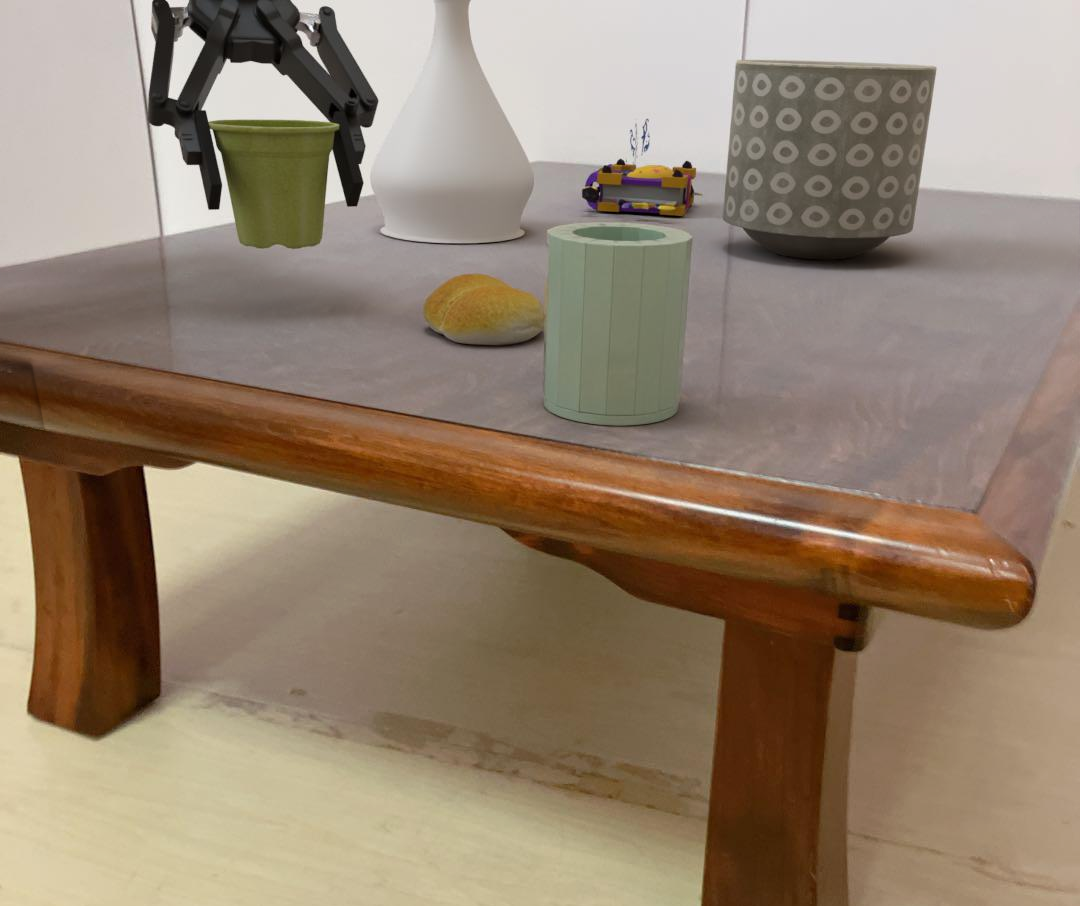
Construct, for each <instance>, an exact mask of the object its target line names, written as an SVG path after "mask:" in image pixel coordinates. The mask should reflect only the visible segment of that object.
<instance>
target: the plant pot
mask: <svg viewBox="0 0 1080 906" xmlns="http://www.w3.org/2000/svg"><path fill="white" fill-rule="evenodd" d="M208 123H209V127H210V130H212V133H213V137H214V141H215V146H216V148H217V150H218V152H220V155H221V159H222V165H223V169H224V173H225V180H226V183H227V189H228V193H229V198H230V202H231V209H232V213H233V218H234V219H233V220H234V223H235V229H236V233H237V238H238V242H239V244H241V245H242V246H245V247H251V248H256V249H269V248H271V247H272V246H275V245H279V246H283V247H285V248H287V249H292V250H298V249H302V248H307V247H308V248H309V247H316V246H318V245H320V244H321V242H322V239H323V232H324V220H325V209H326V208H325V207H326V198H327V197H326V196H327V185H328V172H329V164H330V155H331V152H333V150H332V149H333V141H334V133H335V131H336V130H339V124H336V123H330V122H329V121H319V120H302V119H301V120H300V119H217V120H210V121H208Z"/></svg>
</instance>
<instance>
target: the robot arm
mask: <svg viewBox="0 0 1080 906" xmlns="http://www.w3.org/2000/svg"><path fill="white" fill-rule="evenodd" d="M150 20H151V22H150V23H151V24H150V25H151V26H150V29H151V30H150V31H151V32H152V35H153V38H154V42H155V44H154V51H153V58H152V66H151V74H150V79H149V88H148V99H147V100H148V102H147V121H148V123H149V124H150V125H151V126H154V127H162V126H164V125H168V126H170V127H172V128H173V129H174V137H175V138H176V139H177V140H178V142H179V147H180V152H181V157H182V160H183V162H184V163H185V164H186V166H198V168H199V171H200V176H201V180H202V187H203V190H204V195H205V200H206V206H207V208H208V210H209V211H212V210H213V211H214V210H215V211H216V210H220V207H221V199H222V190H223V182H222V178H221V173H220V169H219V164H218V159H217V155H216V150H215V146H214V142H213V137H212V132H211V129H210V127H209V123H208V122H209V118H208V114H207V110H205V109H203V108H204V106H205V103H206V101H207V99H208V96H209V94H210V93H211V90H212V88H213V86H214V84H215V82H216V80H217V77H218V75H220V74H221V73H222V72H223V71H222V70H223V69H224V67H225V64H226V62H227V60H229V61H230V63H232V64H242V63H248V62H252V63H257V64H266V65H267V64H268V65H272V67H273V68H275V69H276V70H277V71H278V73H279V74H280V75H281V76H283V77H284V76H287V77H288V78H289V79H290V80H291V81H292V83H293V84H294V85H295V86H296V87H297V88H298V89H299V90H300V91H301V92H302V93H303V94H304V95H305V96H306V97H307V99H308V100H309V101H310V102H311V103H312V104H313V105H314V106H315V108H316V109H317V110H318V111H319V112H320V113H321V114H322V115H323V117H325V118H326V120H327V121H328V122H330V123H336V124H339V130H336V131H335V133H334V141H333V149H332V154H333V157H334V161H335V165H336V169H337V173H338V176H339V181H340V184H341V189H342V192H343V196H344V200H345V204H346V207H347V208H350V207H358V204H359V201H360V197H361V194H362V190H363V187H364V183H365V182H364V180H363V179H364V178H363V175H362V172H361V169H360V165H362V163H363V158H364V155H365V151H366V148H367V147H366V143H365V139H364V134H363V130H362V128H365V129H367V128H371V127H372V126H373V124H374V119H375V116H376V113H377V109H378V106H379V98H378V96H377V95H376V92H375V91H374V90H373V88H372V86H371V84H370V82H369V81H368V79H367V77H366V76H365V74H364V72H363V71H362V69H361V67H360V65H359V64H358V62H357V60H356V59H355V57H354V56H353V54H352V52H351V51H350V50H351V49H350V48H349V47H348V45H347V43H346V42H345V40H344V39H343V37H342V35H341V34H340V32H339V29H338V26H337V19H336V13H335V10H334V9H333V8H332V7H330V6H326V5H322V6H321V7H320V8H319V9H318V13H310V12H302V11H300V10H299V8H298V7H297V6H296V5H295V4H294V3H293V1H292V0H188V3H187V5H186V6H170V4H169V2H168V1H167V0H152V2H151V19H150ZM187 27H188V28H189V29H190V31H192V32H193V33H194V34H195V35H196V36H197V37H198V38H200V39H201V40H202V41H203V42H204V44H203V46H202V48H201V50H200V52H199V54H198V56H197V58H196V61H195V62H194V65H193V66H192V69H191V70H190V73H189V75H188V77H187V79H186V81H185V83H184V85H183V87H182V88H181V91H180V93H179V96H178V97H177V99H176V98H172V97H169V93H170V86H171V79H172V72H173V71H172V70H173V62H174V54H175V53H174V51H175V43H177V42H178V41H179V38H181V37H182V36H183V34H184V29H185V28H187ZM298 31H299V32H302V33H304V34H305V36H306V37H307V39H308V41H309V45H310V46H311V47H314V48H316V51H317V54H318V56H319V58H320V61H321V62H322V64H323V66H324V67H323V66H322V65H321V64H320V63H319V62H318V60H317V59H316V58H315V57H314V56H313V55H312V54H311V53H310V52H309V50H308V49H306V47H304V44H303V40H302V38H301V36H300V35H299V34H298Z"/></svg>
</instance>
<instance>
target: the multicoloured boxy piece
mask: <svg viewBox="0 0 1080 906" xmlns="http://www.w3.org/2000/svg"><path fill="white" fill-rule="evenodd" d="M634 120H636V119H634ZM648 123H649V118H646V119H645V121H644V125H643V126H642V132H643V135H642V136H641V137H640V138H641V140H642V147H641V154H640V156H643V153H646V152H647V151H648V150H649V147H650V140H651V139H650V138H651V137H650V136H651V135H650V132H648ZM634 126H635V134H633V129H632V128H630V130H629V133H631V135H630V140H629V144H630V149H631V151H632V157H634V161H632V164H630V163H628V162H627V159H625V160H624V159H622V158H619V159H618V160H617V161H616V163H609V164H604V165H603V166H602V167H600V168H598V169H597V170H595V171H593V172H592V173H590V175H588V177H587V178H586V180H585V184H584V187H583V188H582V189H581V198H582V199H584V200H585V201H586V202H587V205H588V206H589V207H590V208H591V209H594V210H597V211H598V212H614V213H615V212H616V213H619V212H632V213H633V212H634V213H650V214H659V215H663V216H678V217H679V216H680V217H682V216H684V215H685V214H686V211H688V209H689V208H690V206H692V205H693V204H694V202H695V196H701V197H703V193H700V192H695V190H694V187H693V181H692V180H694V179H695V178H696V177H697V167H693V165H692V162H691V161H689V160H685V161H684V163H682V165H681V166H673V167H672V168H670V167H669V166H665V165H661V164H649V165H648V164H647V165H643V166H640V167H637V164H635V162H636V159H637V156H635V154H637V151H638V144H639V143H637V138H638V128H637V123H635V125H634ZM647 132H648V133H647ZM634 135H635V136H634ZM646 137H648V140H646ZM632 141H633V142H635V147H634V145H633V143H632ZM645 143H647V144H645ZM594 183H596V184H597V185H598V186H597V187H596V186H594Z"/></svg>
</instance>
